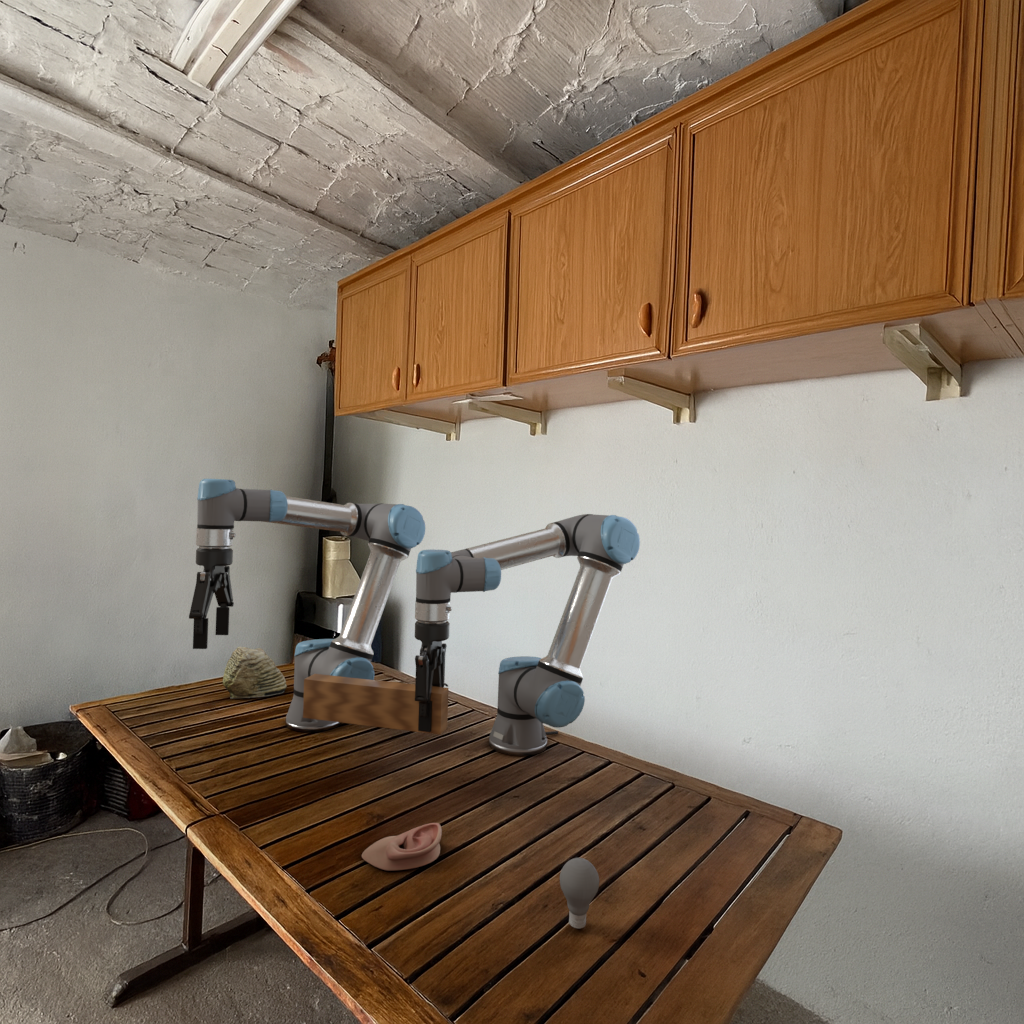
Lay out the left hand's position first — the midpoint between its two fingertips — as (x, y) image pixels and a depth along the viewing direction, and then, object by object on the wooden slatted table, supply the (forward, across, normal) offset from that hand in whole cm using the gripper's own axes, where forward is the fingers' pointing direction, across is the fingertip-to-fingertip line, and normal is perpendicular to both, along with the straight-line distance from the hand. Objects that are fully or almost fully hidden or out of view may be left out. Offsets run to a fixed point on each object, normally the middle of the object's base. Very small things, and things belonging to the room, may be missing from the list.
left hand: (211, 641), depth 143 cm
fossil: (+30, +56, +6) cm, 63 cm away
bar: (+16, -6, -37) cm, 41 cm away
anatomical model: (+30, -35, -46) cm, 65 cm away
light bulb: (+30, -55, -73) cm, 97 cm away
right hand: (+16, -10, -50) cm, 53 cm away
